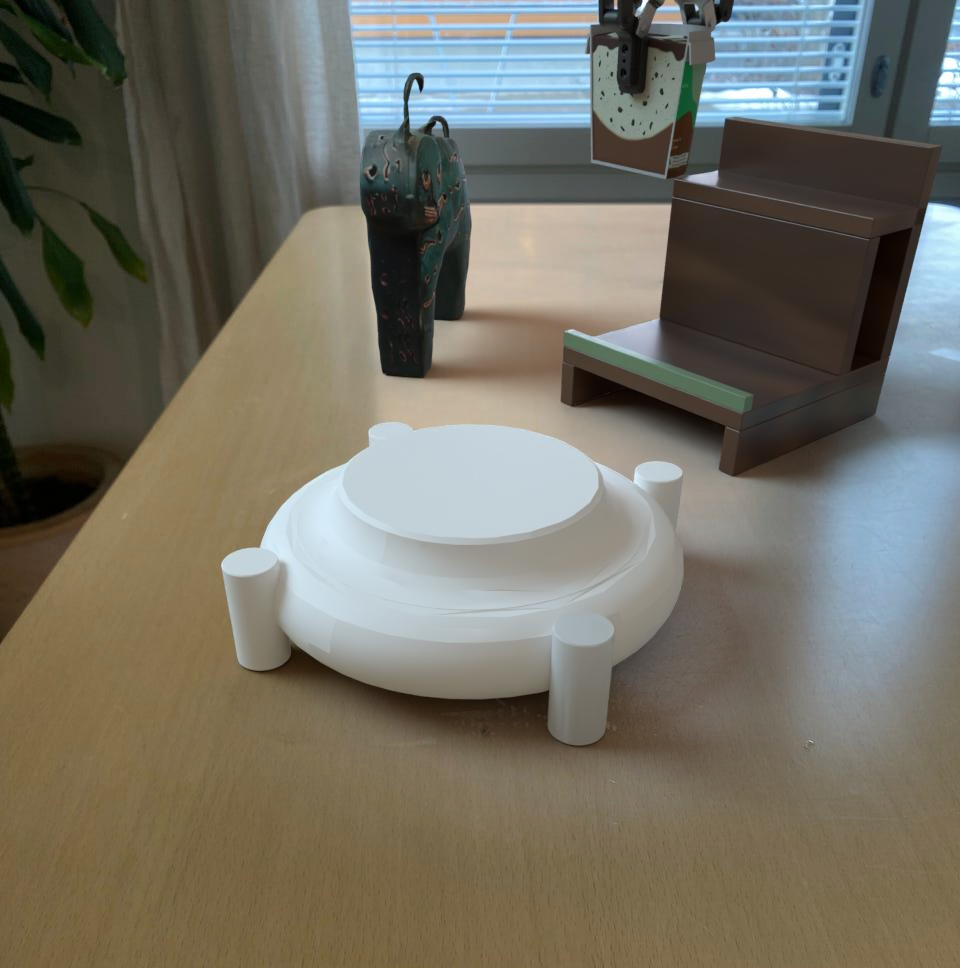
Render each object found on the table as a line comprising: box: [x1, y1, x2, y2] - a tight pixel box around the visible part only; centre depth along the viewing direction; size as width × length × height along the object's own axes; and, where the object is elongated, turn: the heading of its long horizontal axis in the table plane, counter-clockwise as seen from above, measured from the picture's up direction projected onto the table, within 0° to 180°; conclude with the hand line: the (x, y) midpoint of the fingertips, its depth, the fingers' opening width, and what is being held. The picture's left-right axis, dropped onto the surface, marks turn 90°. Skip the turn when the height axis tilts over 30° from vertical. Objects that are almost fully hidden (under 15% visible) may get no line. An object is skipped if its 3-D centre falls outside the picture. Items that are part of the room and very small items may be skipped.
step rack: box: [560, 116, 943, 477], centre depth 66 cm, size 16×16×17 cm
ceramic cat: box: [359, 72, 473, 378], centre depth 77 cm, size 20×6×20 cm, turn 168°
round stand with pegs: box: [220, 421, 685, 746], centre depth 48 cm, size 24×24×7 cm
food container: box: [584, 22, 716, 180], centre depth 79 cm, size 12×6×10 cm, turn 34°
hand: (661, 88), depth 79 cm, fingers closed on food container, 6 cm apart
